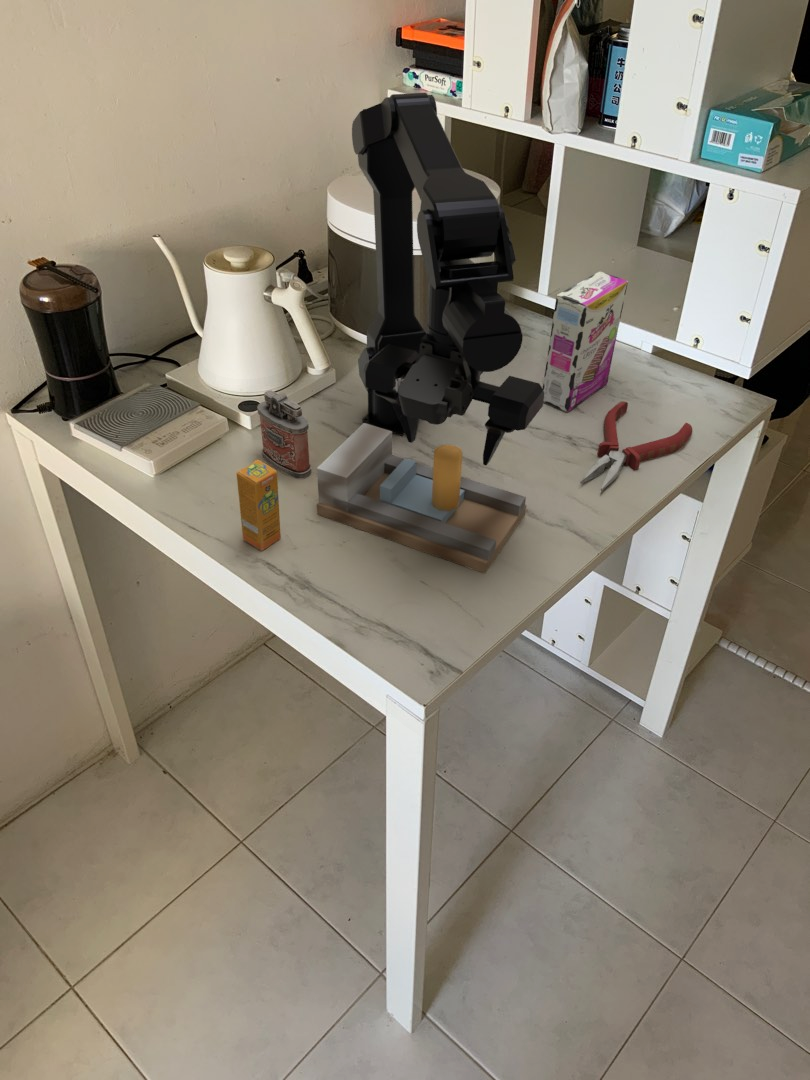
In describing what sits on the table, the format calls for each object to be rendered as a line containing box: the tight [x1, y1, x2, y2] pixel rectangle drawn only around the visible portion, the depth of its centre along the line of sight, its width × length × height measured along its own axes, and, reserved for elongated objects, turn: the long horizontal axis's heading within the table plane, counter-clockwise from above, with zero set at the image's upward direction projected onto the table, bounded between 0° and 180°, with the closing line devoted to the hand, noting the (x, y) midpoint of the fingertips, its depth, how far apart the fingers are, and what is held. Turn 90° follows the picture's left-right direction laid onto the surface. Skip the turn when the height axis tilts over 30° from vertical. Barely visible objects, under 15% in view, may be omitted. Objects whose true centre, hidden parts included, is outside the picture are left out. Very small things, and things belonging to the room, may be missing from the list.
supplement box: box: [236, 459, 281, 551], centre depth 98 cm, size 3×3×10 cm
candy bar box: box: [542, 271, 629, 413], centre depth 122 cm, size 11×5×16 cm, turn 139°
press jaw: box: [380, 444, 465, 523], centre depth 102 cm, size 9×6×8 cm
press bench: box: [316, 423, 527, 574], centre depth 104 cm, size 22×12×6 cm, turn 62°
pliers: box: [579, 401, 693, 492], centre depth 115 cm, size 12×20×3 cm, turn 144°
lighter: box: [256, 389, 312, 480], centre depth 110 cm, size 8×3×10 cm, turn 47°
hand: (448, 452), depth 98 cm, fingers open, 9 cm apart
